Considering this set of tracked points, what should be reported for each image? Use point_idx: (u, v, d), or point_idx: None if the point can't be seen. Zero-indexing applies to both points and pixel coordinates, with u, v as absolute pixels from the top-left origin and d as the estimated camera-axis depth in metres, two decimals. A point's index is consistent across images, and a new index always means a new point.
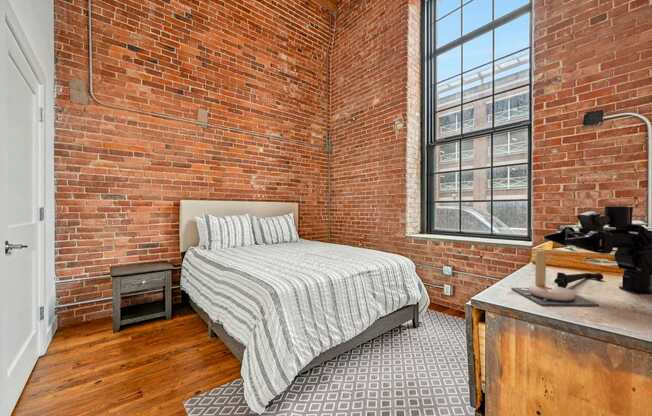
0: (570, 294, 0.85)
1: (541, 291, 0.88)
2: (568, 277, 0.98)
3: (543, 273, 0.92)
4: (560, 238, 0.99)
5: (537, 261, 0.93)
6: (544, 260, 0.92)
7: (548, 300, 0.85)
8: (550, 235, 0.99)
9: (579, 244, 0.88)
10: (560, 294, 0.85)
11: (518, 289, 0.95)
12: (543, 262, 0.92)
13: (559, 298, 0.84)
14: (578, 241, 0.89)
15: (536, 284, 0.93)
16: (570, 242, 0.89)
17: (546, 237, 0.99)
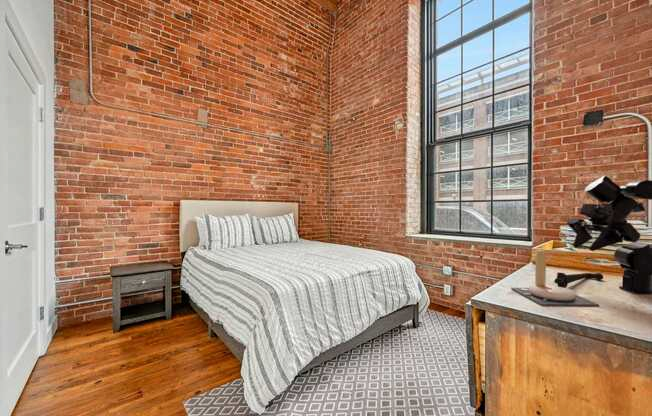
0: (570, 294, 0.85)
1: (541, 291, 0.88)
2: (568, 277, 0.98)
3: (543, 273, 0.92)
4: (585, 236, 0.97)
5: (537, 261, 0.93)
6: (544, 260, 0.92)
7: (548, 300, 0.85)
8: (577, 242, 0.96)
9: (604, 244, 0.90)
10: (560, 294, 0.85)
11: (518, 289, 0.95)
12: (543, 262, 0.92)
13: (559, 298, 0.84)
14: (600, 243, 0.90)
15: (536, 284, 0.93)
16: (595, 248, 0.90)
17: (576, 246, 0.96)
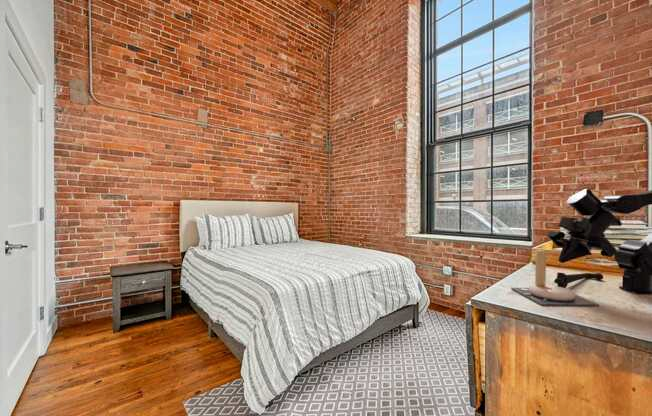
0: (570, 294, 0.85)
1: (541, 291, 0.88)
2: (568, 277, 0.98)
3: (543, 273, 0.92)
4: None
5: (537, 261, 0.93)
6: (544, 260, 0.92)
7: (548, 300, 0.85)
8: None
9: (573, 257, 0.92)
10: (560, 294, 0.85)
11: (518, 289, 0.95)
12: (543, 262, 0.92)
13: (559, 298, 0.84)
14: (570, 255, 0.92)
15: (536, 284, 0.93)
16: (565, 260, 0.93)
17: None
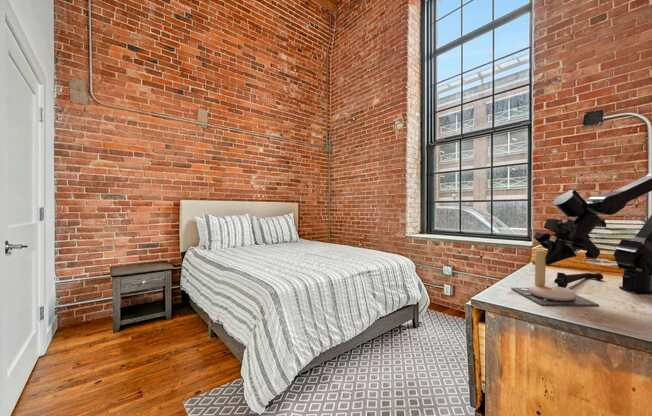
0: (570, 294, 0.85)
1: (542, 291, 0.87)
2: (568, 277, 0.98)
3: (543, 273, 0.92)
4: None
5: (537, 261, 0.93)
6: (544, 260, 0.92)
7: (548, 300, 0.85)
8: (548, 258, 0.93)
9: (558, 258, 0.91)
10: (561, 294, 0.85)
11: (518, 289, 0.95)
12: (543, 262, 0.92)
13: (560, 298, 0.84)
14: (555, 257, 0.91)
15: (536, 284, 0.93)
16: (551, 262, 0.92)
17: None
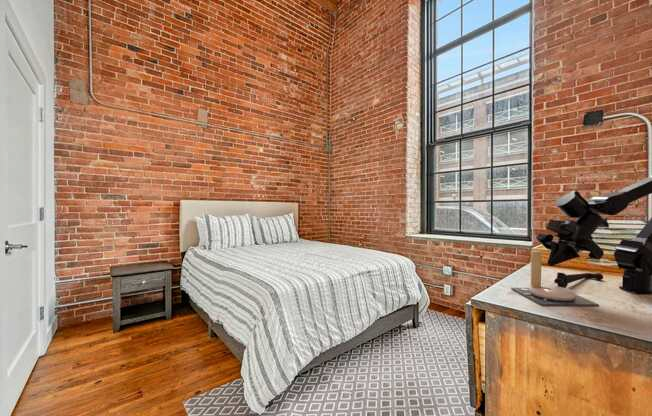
0: (572, 292, 0.86)
1: (551, 293, 0.86)
2: (568, 277, 0.98)
3: (540, 273, 0.91)
4: None
5: (535, 262, 0.91)
6: None
7: (548, 300, 0.85)
8: (551, 259, 0.93)
9: (562, 260, 0.91)
10: (568, 294, 0.85)
11: (518, 289, 0.95)
12: (540, 263, 0.91)
13: (570, 298, 0.84)
14: (559, 258, 0.91)
15: (534, 285, 0.92)
16: (554, 263, 0.92)
17: None
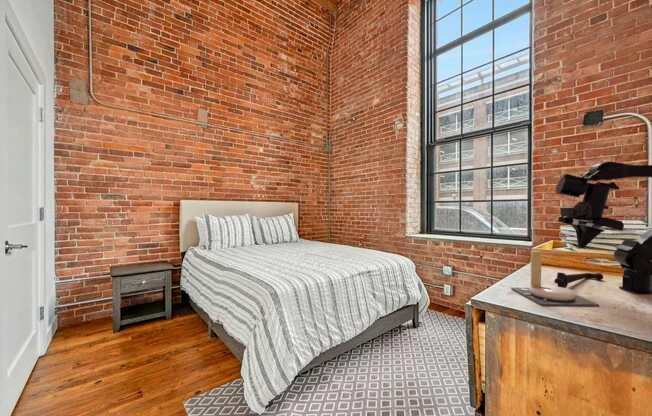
0: (572, 292, 0.86)
1: (551, 293, 0.86)
2: (568, 277, 0.98)
3: (540, 273, 0.91)
4: None
5: (535, 262, 0.91)
6: None
7: (548, 300, 0.85)
8: None
9: (590, 239, 0.95)
10: (568, 294, 0.85)
11: (518, 289, 0.95)
12: (540, 263, 0.91)
13: (570, 298, 0.84)
14: (586, 239, 0.95)
15: (534, 285, 0.92)
16: (584, 244, 0.96)
17: None
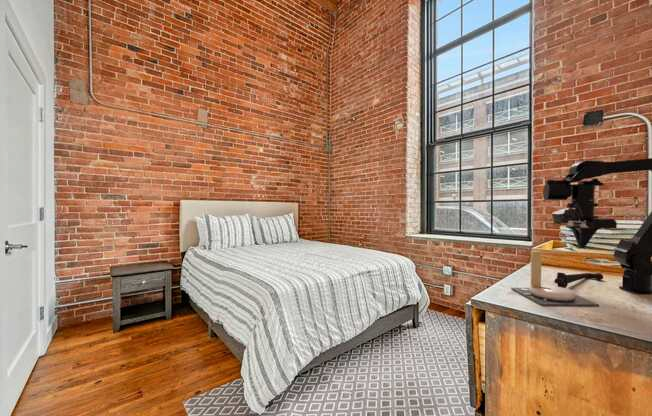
0: (572, 292, 0.86)
1: (551, 293, 0.86)
2: (568, 277, 0.98)
3: (540, 273, 0.91)
4: None
5: (535, 262, 0.91)
6: None
7: (548, 300, 0.85)
8: None
9: (588, 238, 0.96)
10: (568, 294, 0.85)
11: (518, 289, 0.95)
12: (540, 263, 0.91)
13: (570, 298, 0.84)
14: (585, 239, 0.96)
15: (534, 285, 0.92)
16: (584, 244, 0.97)
17: None
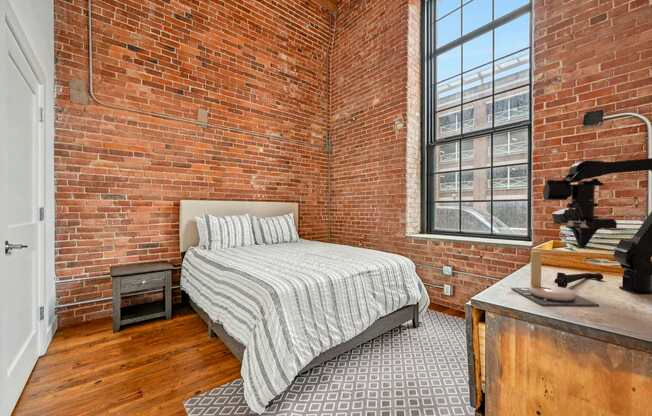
0: (572, 292, 0.86)
1: (551, 293, 0.86)
2: (568, 277, 0.98)
3: (540, 273, 0.91)
4: None
5: (535, 262, 0.91)
6: None
7: (548, 300, 0.85)
8: None
9: (588, 238, 0.96)
10: (568, 294, 0.85)
11: (518, 289, 0.95)
12: (540, 263, 0.91)
13: (570, 298, 0.84)
14: (585, 239, 0.96)
15: (534, 285, 0.92)
16: (584, 244, 0.97)
17: None
